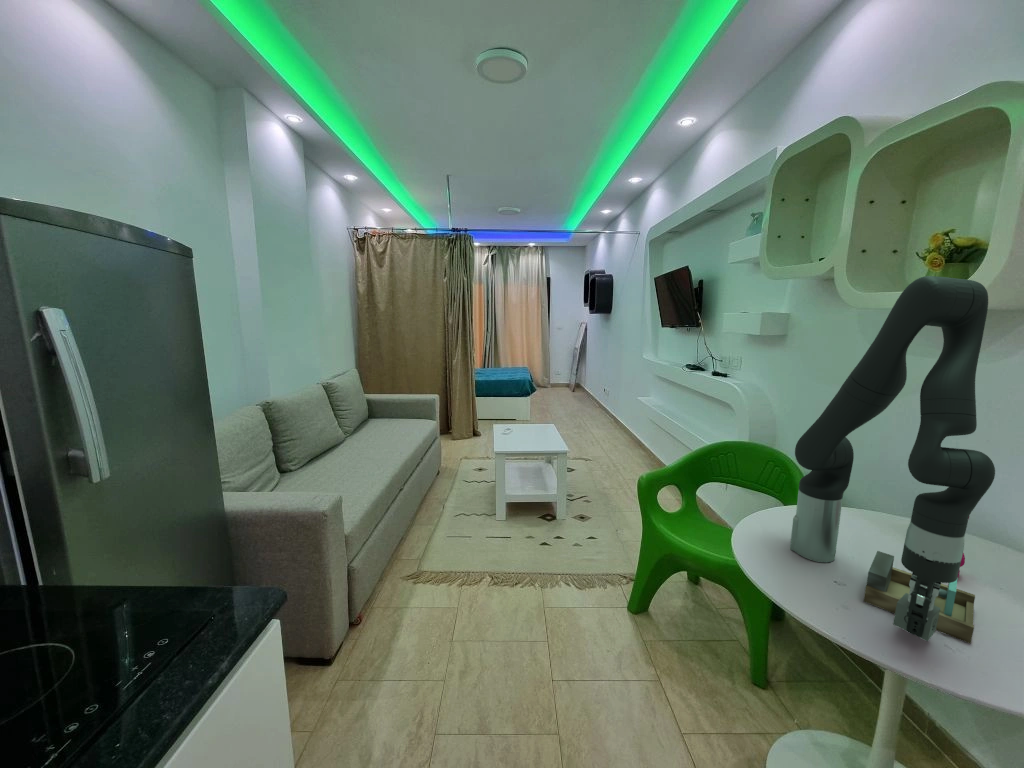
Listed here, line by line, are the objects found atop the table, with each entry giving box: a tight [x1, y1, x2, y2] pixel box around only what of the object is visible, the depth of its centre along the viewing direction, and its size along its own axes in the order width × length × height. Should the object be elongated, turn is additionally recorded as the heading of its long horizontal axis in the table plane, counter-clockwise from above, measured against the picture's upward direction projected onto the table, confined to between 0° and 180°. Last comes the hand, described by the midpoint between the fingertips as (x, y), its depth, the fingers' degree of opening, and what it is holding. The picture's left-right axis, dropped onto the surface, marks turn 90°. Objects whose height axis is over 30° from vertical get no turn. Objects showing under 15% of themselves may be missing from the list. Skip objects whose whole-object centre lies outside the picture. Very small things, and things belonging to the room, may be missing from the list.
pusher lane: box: [863, 550, 976, 644], centre depth 88 cm, size 16×14×7 cm
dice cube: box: [892, 593, 940, 642], centre depth 79 cm, size 5×5×5 cm
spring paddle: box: [938, 577, 959, 616], centre depth 86 cm, size 4×11×8 cm, turn 131°
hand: (916, 625), depth 79 cm, fingers closed on dice cube, 5 cm apart
